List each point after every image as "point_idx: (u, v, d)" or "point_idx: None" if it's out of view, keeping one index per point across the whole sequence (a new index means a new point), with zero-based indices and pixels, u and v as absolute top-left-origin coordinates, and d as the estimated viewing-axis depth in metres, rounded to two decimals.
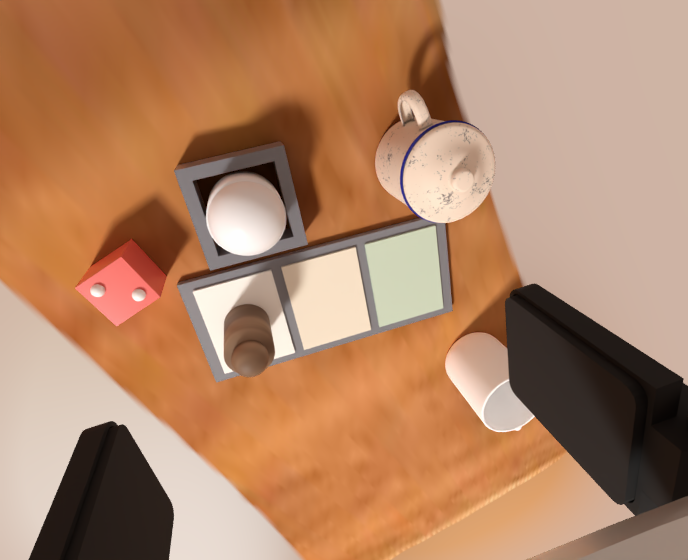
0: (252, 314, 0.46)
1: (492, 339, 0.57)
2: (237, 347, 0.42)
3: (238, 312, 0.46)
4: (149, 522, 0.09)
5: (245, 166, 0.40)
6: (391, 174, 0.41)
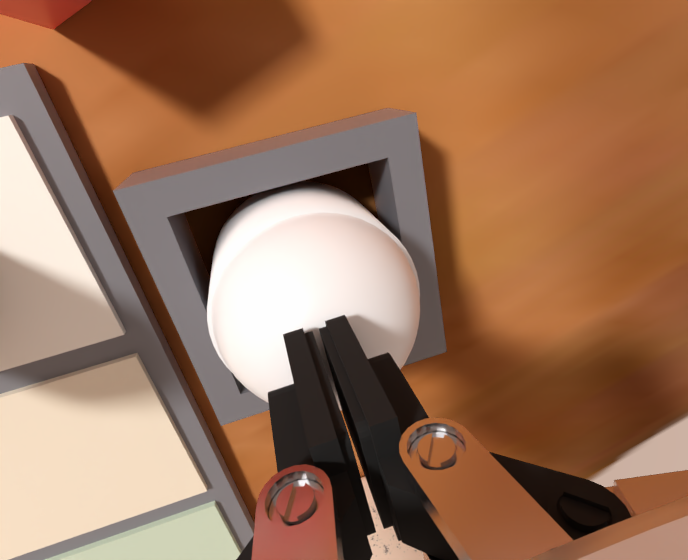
0: None
1: None
2: None
3: None
4: None
5: None
6: None
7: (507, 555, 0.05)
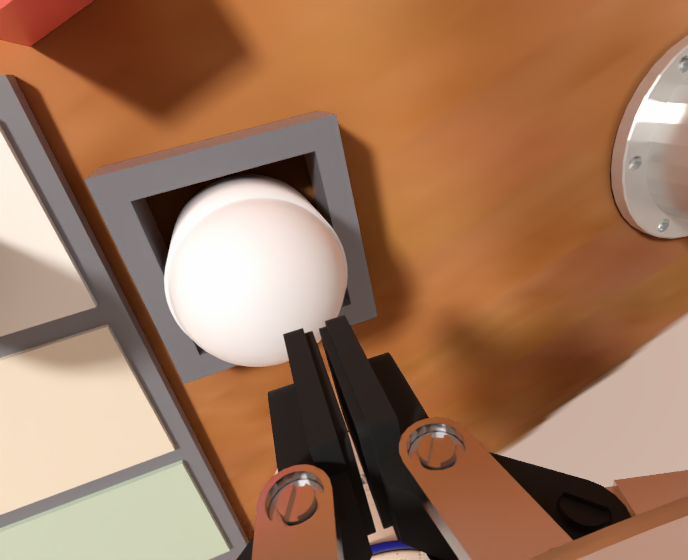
0: None
1: None
2: None
3: None
4: None
5: None
6: None
7: (507, 555, 0.05)
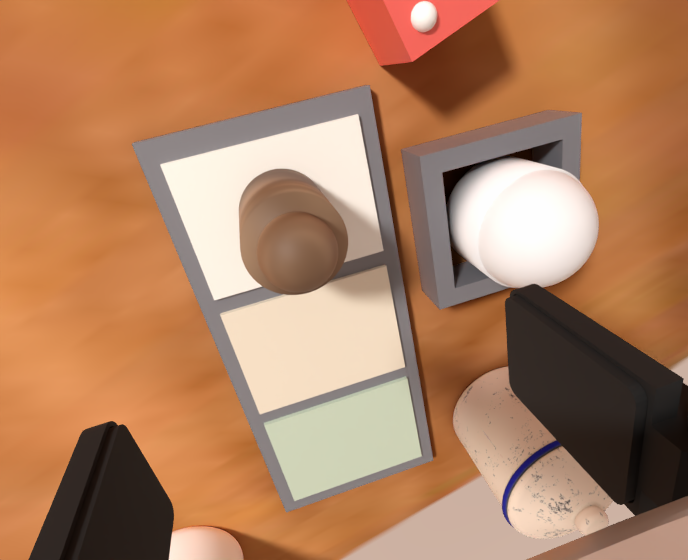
0: None
1: None
2: (328, 226, 0.19)
3: None
4: (149, 522, 0.09)
5: None
6: None
7: None
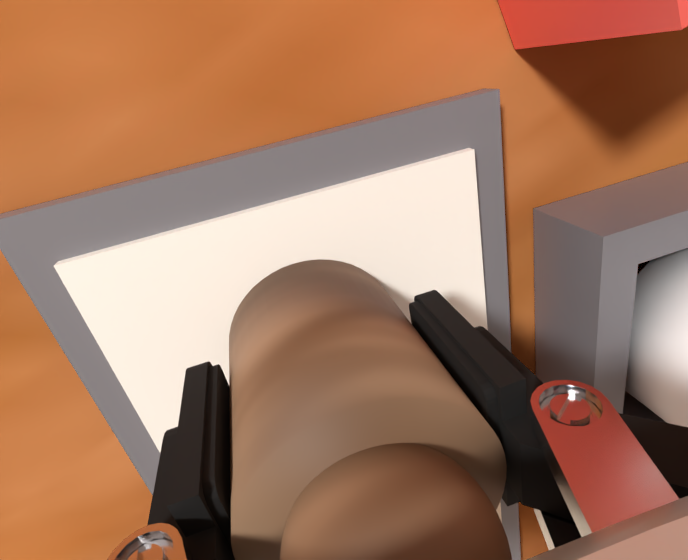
0: None
1: None
2: (482, 492, 0.07)
3: None
4: None
5: None
6: None
7: (679, 499, 0.06)
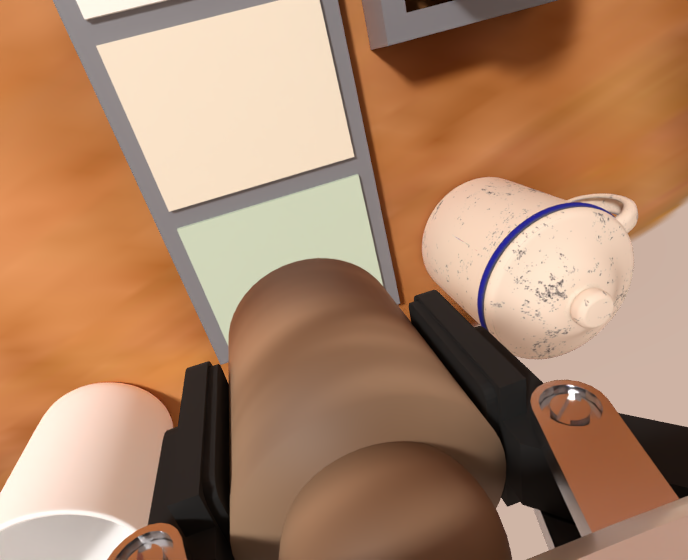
0: None
1: None
2: (482, 490, 0.07)
3: None
4: None
5: None
6: (526, 196, 0.24)
7: (679, 498, 0.06)
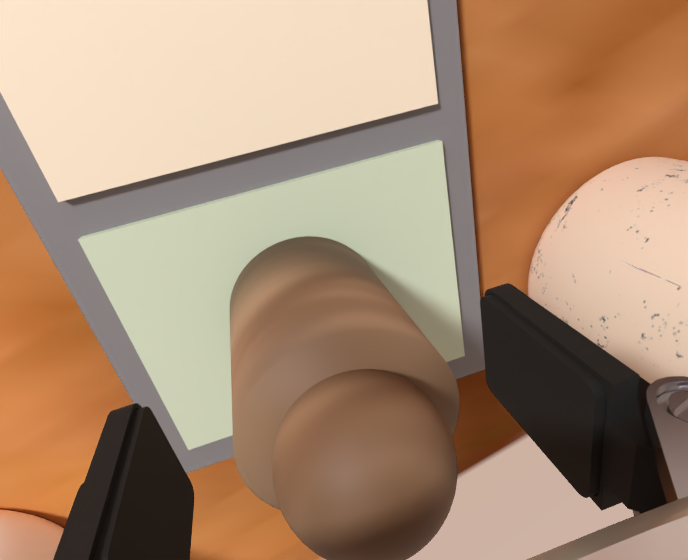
0: None
1: None
2: (434, 405, 0.09)
3: None
4: (173, 500, 0.09)
5: None
6: None
7: None
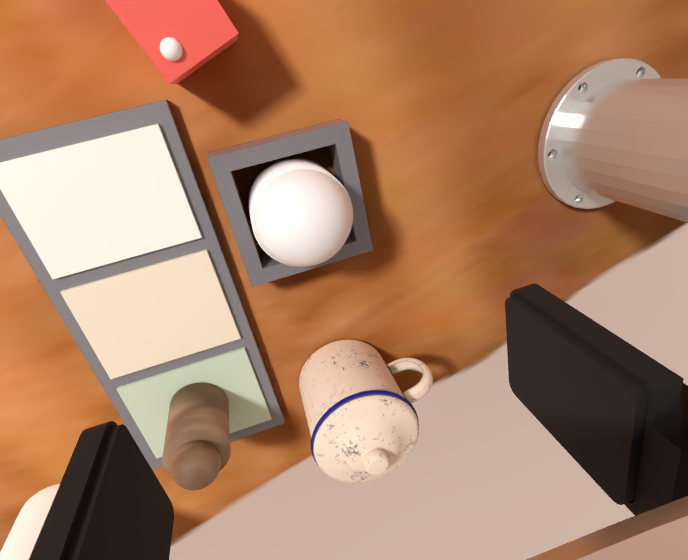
0: None
1: None
2: (214, 450, 0.33)
3: (226, 405, 0.38)
4: (149, 522, 0.09)
5: None
6: (351, 373, 0.36)
7: None
